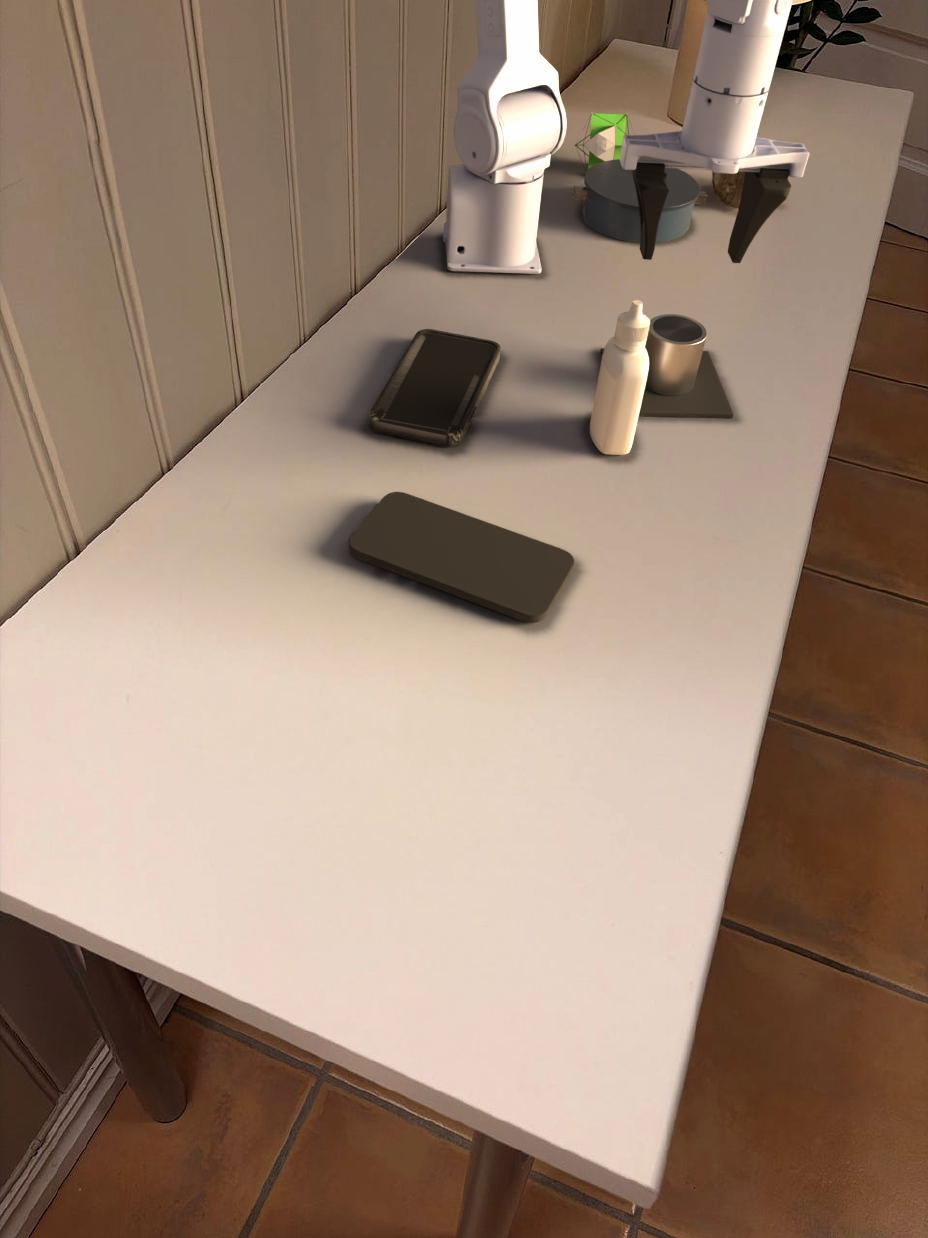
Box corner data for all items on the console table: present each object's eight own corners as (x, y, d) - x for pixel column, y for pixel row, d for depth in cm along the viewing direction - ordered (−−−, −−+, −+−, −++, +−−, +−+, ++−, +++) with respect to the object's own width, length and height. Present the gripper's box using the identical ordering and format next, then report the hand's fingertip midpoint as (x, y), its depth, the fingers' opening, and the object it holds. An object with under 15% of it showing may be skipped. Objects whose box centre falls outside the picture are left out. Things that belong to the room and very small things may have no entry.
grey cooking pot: (577, 242, 105) (583, 204, 102) (564, 191, 113) (568, 156, 110) (711, 246, 106) (721, 210, 103) (688, 196, 114) (696, 161, 111)
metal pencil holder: (641, 394, 84) (652, 343, 81) (633, 363, 88) (644, 312, 84) (698, 397, 85) (712, 345, 81) (688, 365, 88) (701, 314, 84)
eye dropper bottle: (573, 446, 79) (596, 310, 71) (598, 411, 83) (622, 278, 74) (623, 463, 78) (653, 327, 70) (646, 427, 82) (677, 294, 73)
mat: (616, 415, 83) (617, 411, 82) (600, 351, 90) (600, 347, 89) (732, 418, 84) (733, 414, 83) (707, 354, 90) (708, 350, 90)
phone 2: (540, 621, 65) (341, 546, 68) (538, 630, 65) (341, 554, 69) (579, 554, 69) (391, 486, 73) (577, 562, 70) (391, 495, 74)
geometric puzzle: (569, 136, 119) (584, 94, 111) (624, 137, 120) (642, 95, 112) (572, 192, 118) (587, 153, 110) (628, 192, 119) (647, 154, 111)
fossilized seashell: (777, 160, 117) (695, 175, 116) (795, 122, 110) (708, 138, 110) (793, 216, 115) (710, 232, 115) (812, 181, 109) (724, 197, 109)
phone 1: (365, 418, 78) (419, 326, 88) (365, 430, 79) (419, 337, 89) (460, 438, 77) (504, 342, 87) (459, 449, 78) (503, 353, 88)
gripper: (644, 97, 70) (612, 275, 80) (840, 107, 71) (785, 281, 81) (629, 63, 75) (600, 235, 85) (813, 73, 76) (764, 242, 86)
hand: (689, 255), depth 83 cm, fingers open, 7 cm apart
